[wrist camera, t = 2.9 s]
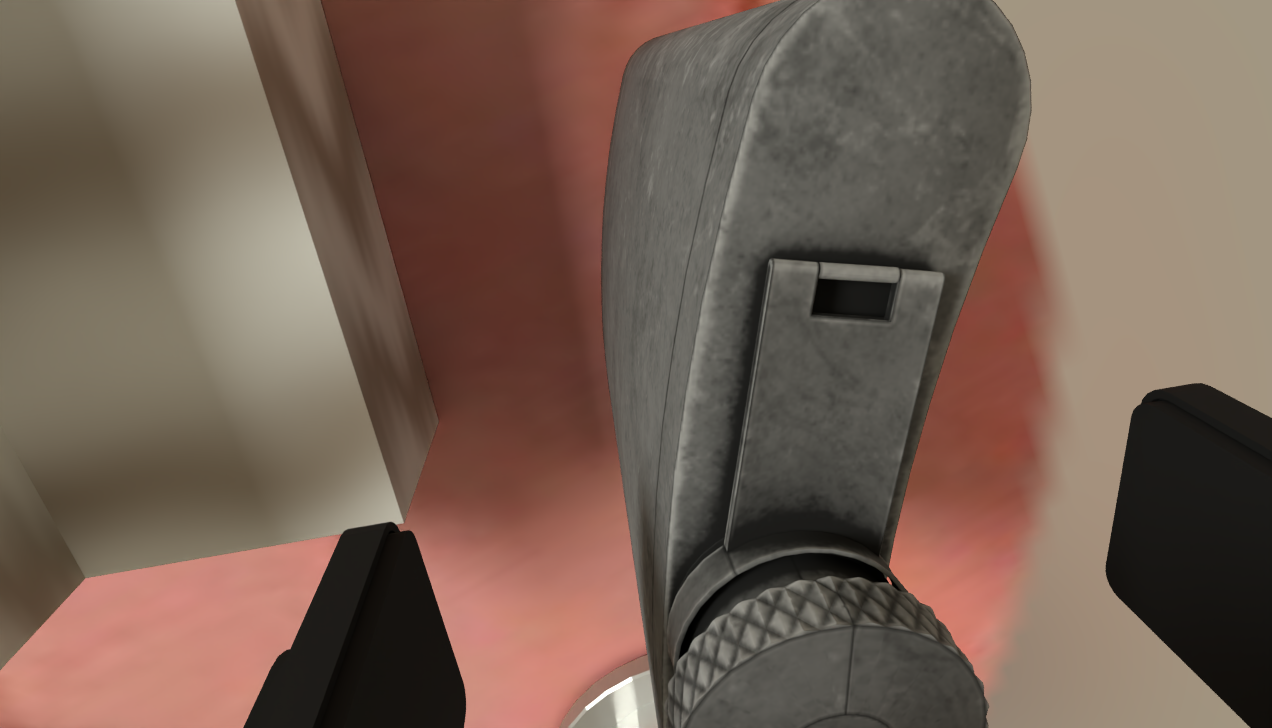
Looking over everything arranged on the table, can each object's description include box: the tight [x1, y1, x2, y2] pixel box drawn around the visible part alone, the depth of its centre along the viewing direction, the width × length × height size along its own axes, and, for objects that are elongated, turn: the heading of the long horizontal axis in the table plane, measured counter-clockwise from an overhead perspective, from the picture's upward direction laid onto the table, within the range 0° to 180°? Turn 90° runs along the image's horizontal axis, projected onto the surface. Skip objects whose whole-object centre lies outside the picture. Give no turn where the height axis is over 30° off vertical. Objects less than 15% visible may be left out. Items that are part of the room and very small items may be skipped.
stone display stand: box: [0, 0, 439, 670], centre depth 14 cm, size 20×10×14 cm, turn 8°
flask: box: [601, 0, 1031, 728], centre depth 15 cm, size 4×14×18 cm, turn 178°
